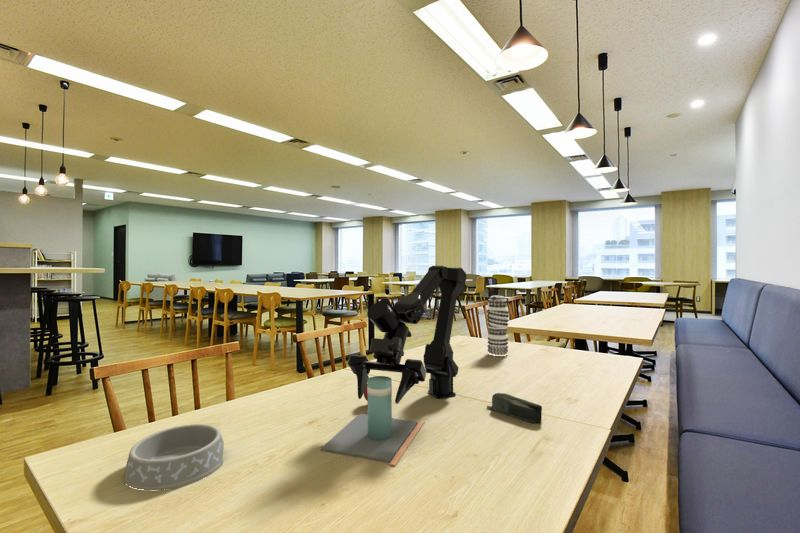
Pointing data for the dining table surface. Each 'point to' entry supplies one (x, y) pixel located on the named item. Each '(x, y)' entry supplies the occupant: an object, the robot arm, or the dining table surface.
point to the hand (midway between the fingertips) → (377, 400)
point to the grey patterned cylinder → (497, 325)
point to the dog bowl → (175, 457)
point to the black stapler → (516, 407)
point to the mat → (360, 445)
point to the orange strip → (406, 444)
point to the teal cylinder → (379, 407)
